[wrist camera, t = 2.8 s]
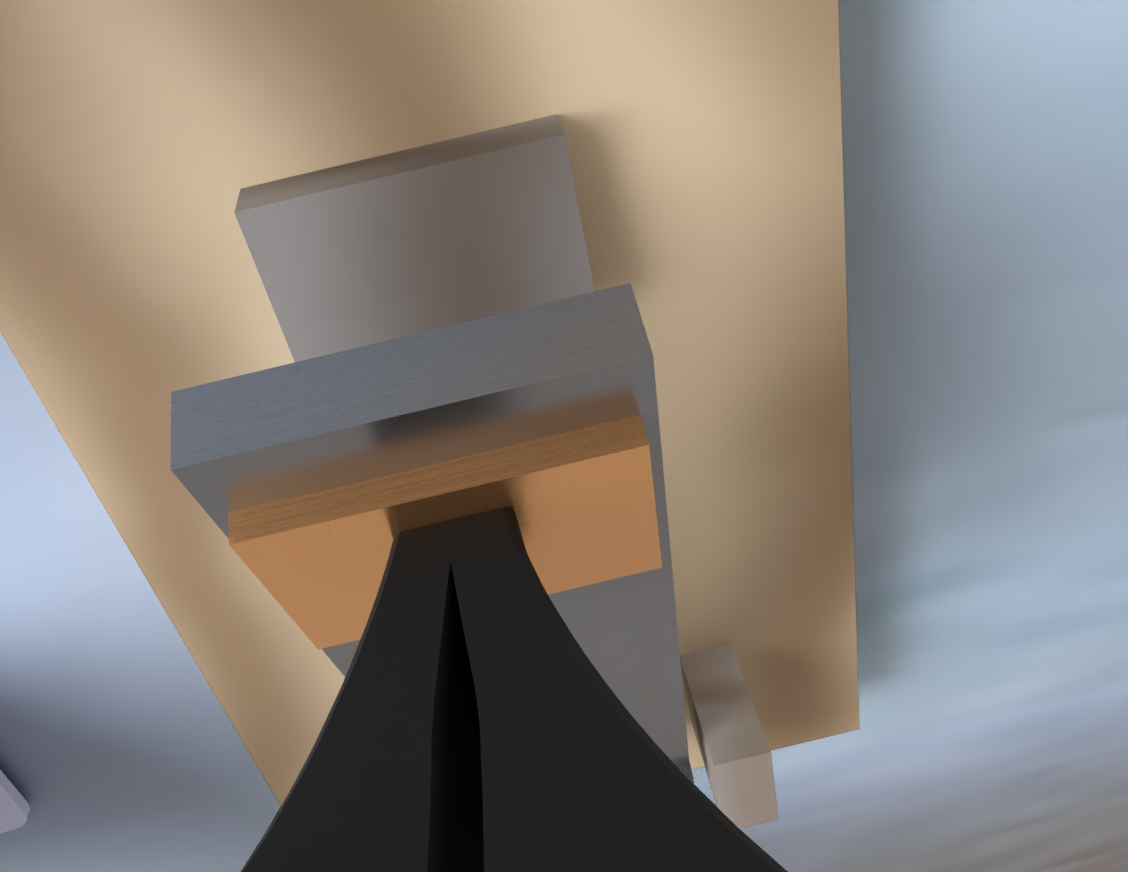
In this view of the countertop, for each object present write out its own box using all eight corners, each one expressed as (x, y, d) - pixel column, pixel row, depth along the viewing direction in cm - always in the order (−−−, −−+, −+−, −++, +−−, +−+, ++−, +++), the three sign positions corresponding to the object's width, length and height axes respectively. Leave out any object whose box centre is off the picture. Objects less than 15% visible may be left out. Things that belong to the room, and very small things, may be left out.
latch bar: (465, 773, 25) (477, 848, 24) (171, 369, 11) (169, 503, 10) (676, 723, 25) (695, 796, 24) (624, 262, 11) (663, 386, 10)
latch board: (316, 792, 28) (306, 979, 24) (-185, -120, 15) (-391, -45, 11) (831, 668, 28) (907, 834, 24) (779, -346, 15) (926, -354, 11)
